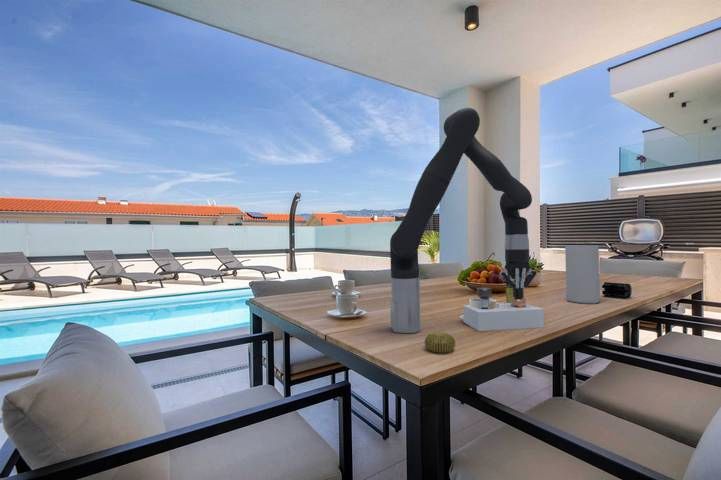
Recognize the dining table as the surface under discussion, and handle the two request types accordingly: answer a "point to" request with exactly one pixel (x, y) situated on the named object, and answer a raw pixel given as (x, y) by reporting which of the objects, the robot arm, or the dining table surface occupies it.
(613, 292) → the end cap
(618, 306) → the dining table surface
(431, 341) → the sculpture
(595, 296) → the cylinder vase
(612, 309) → the dining table surface
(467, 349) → the dining table surface
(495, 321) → the mount
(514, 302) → the knob right
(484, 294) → the knob left
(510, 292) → the sauce bottle
